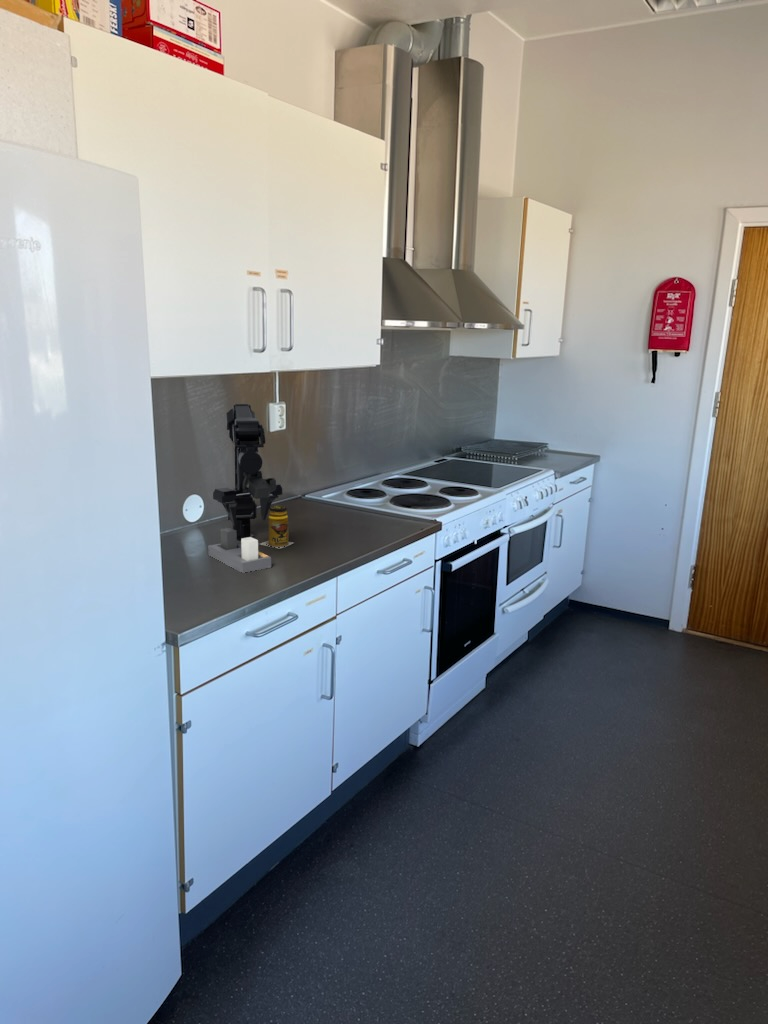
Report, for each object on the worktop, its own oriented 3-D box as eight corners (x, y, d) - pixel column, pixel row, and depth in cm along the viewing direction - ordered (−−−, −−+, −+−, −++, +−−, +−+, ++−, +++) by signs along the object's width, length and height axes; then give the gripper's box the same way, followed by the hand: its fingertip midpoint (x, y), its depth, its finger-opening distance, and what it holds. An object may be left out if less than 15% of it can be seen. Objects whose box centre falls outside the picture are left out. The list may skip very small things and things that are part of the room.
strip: (208, 555, 216) (208, 544, 216) (236, 550, 222) (235, 540, 221) (242, 573, 202) (242, 562, 201) (271, 567, 207) (271, 556, 206)
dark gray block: (221, 555, 217) (220, 529, 215) (230, 553, 219) (229, 527, 217) (227, 558, 214) (227, 532, 212) (237, 557, 216) (236, 530, 214)
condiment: (280, 549, 225) (280, 510, 222) (258, 544, 229) (257, 506, 226) (294, 543, 231) (294, 506, 228) (272, 539, 235) (272, 502, 232)
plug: (241, 565, 208) (241, 538, 206) (251, 564, 210) (250, 536, 208) (248, 569, 205) (248, 541, 203) (258, 567, 207) (257, 540, 205)
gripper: (231, 474, 189) (233, 534, 192) (293, 467, 200) (293, 523, 204) (211, 468, 197) (213, 525, 201) (271, 461, 209) (272, 515, 212)
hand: (249, 522), depth 204 cm, fingers open, 9 cm apart
